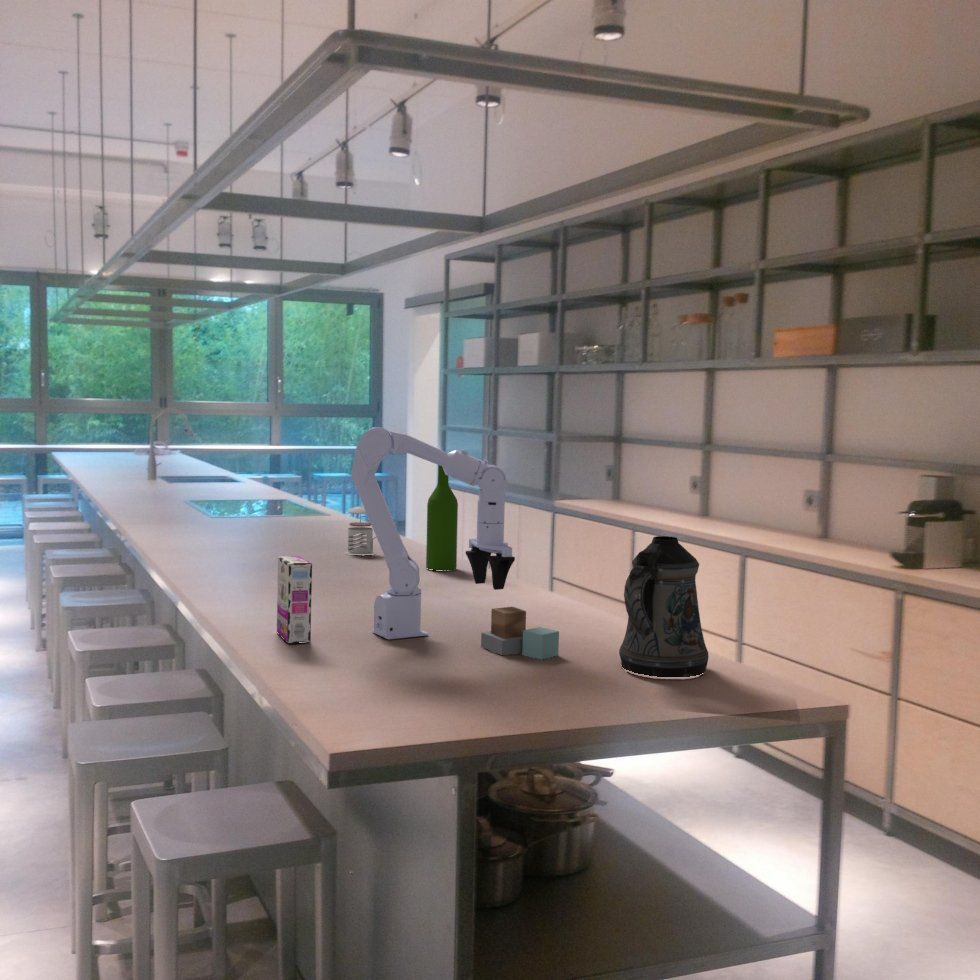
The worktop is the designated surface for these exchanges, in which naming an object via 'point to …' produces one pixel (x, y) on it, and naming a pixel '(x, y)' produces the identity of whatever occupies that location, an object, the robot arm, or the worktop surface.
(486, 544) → the robot arm
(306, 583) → the candy bar box
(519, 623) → the walnut cube
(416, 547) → the worktop surface
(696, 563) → the beer stein
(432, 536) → the wine bottle
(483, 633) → the base block
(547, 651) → the teal cube
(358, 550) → the french press
